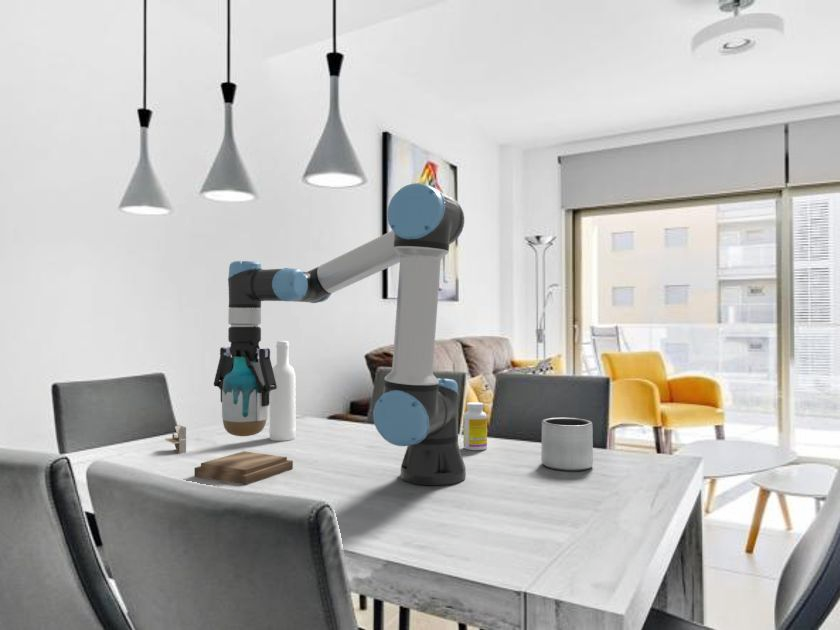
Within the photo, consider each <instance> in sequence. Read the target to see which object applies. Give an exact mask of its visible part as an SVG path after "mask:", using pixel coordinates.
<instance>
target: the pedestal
mask: <svg viewBox="0 0 840 630" xmlns="http://www.w3.org/2000/svg"><path fill="white" fill-rule="evenodd" d="M293 461H294V460H289V459H288V457H287V456H281V455H273V454H267V453H259V452H252V451H245V450H244V451H241V452H236V453H233V454H230V455H226V456H223V457H218V458H215V459H211V460H207V461H204V462H201V463H200V466H197V467H194V477H196V478H203V479H209V480H214V481H219V482H220V481H221V482H226V483H233V484H237V485H243V486H248V485H250V484H254V483H256V482H259V481H262V480H265V479H268V478H271V477H273V476H276V475H279V474H282V473H285V472H287V471H291V470H293V469H294V467H293V465H294V462H293Z"/></svg>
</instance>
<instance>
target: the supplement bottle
mask: <svg viewBox="0 0 840 630" xmlns="http://www.w3.org/2000/svg"><path fill="white" fill-rule="evenodd" d="M466 409H467V411H465V412H464V413H463V417H462V419H463V448H464V449H465V450H467V451H473V452H474V451H477V452H478V451H484V450H486V449H487V448H488V423H487V422H488V419H487V418H488V415H487V413H486V412H485V411H484V410H483V409H484V403H483V402H477V401H476V402H475V401H473V402H472V401H471V402H466Z"/></svg>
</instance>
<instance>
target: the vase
mask: <svg viewBox="0 0 840 630" xmlns="http://www.w3.org/2000/svg"><path fill="white" fill-rule="evenodd" d="M252 363H256V360H255V361H252ZM259 391H260V390H259V388H258V386H257V383H256V379H255V377H254V375H253V374H252V372H251V370H250V368H248V367H247V365H246V360H245V358H244V357H236V356H235V357H234V363H233V369H232V371H231V372H230V373H228V374H226V376H225V378H224V381H223V388H222V402H221V419H222V423H223V427H224V430H225V431H226V432H227V433H228V434H230V435H231V436H236V437H251V436H254V435H257V434H259V433H261V432H262V431H263V430H264V428H265V427H266V423H267V421H268V418H267V419H266V420H261V421H257V393H258V392H259ZM268 407H269V406H267V411H268Z"/></svg>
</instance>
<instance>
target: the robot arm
mask: <svg viewBox="0 0 840 630" xmlns="http://www.w3.org/2000/svg"><path fill="white" fill-rule="evenodd" d="M386 213H387V214H386V216H387V218H386V219H387V223H388V225H389V227H390V229H391V231H389V232H387V233H384V234H382V235H380V236H378V237H376V238H374V239H371V241H368V242H366V243H364V244H362V245H360V246H358V247H355V248H354V249H351V250H349V251H348V252H344V253H343V254H341V255H339V256H337V257H335V258H333V259H331V260H329V261H327V262H325V263H323V264H320V265H319V266H317V267H315V268H313V269H310V270H308V271H303V270H301V269H299V268H292V267H291V268H290V267H284V268H271V269H270V268H269V269H262V264H261V262H259V261H250V260H235V261H232V262H231V263H230V264H229V266H228V267H229V268H228V278H227V282H228V285H227V286H228V319H227V320H228V322H227V323H228V325H230V326H229V328H228V330H227V331H228V336H227V337H228V339H227V341H228V342H229V343H230V346H223V347H220V349H219V361H218V364H217V368H216V373H215V377H214V382H213V386H214V387H218V389H219V390H220V403H222V388H223V381H224V378H225V376H226V374H228V373H230V372H231V371H232V369H233V363H234V357H235V356H236V357H244V358H245V360H246V365H247V367H248V368H250V370H251V372H252V374H253V375H254V377H255V379H256V383H257V386H258V388H259V390H260V391H259V392H258V393H257V421H261V420H266V419H267V420H268V410H267V406H268V407H270V391H272V390H274V389H276V388H277V385H276V381H275V377H274V373H273V369H272V368H273V365H272V362H271V361H272V360H271V349H270V348H268V347H267V348H260V345H259V344H260V342H261V341H262V328H261V327H260V326H259V325H261V322H262V318H261V317H262V302H295V303H296V302H298V303H299V302H301V303H311V304H317V303H323V302H326V301H327V300H328V299H329V298H330V297H331V295H332V294H333V293H336V292H337V291H339V290H342V289H345V288H346V287H349V286H351V285H354V284H355V283H357V282H360V281H362V280H364V279H366V278H369V277H370V276H373V275H375V274H377V273H379V272H382V271H384V270H386V269H387V268H388V269H389V268H391V267H393V266H394V265H397V264H399V269H398V270H399V271H398V283H397V299H396V310H395V311H396V313H395V324H394V325H395V326H394V339H393V341H394V342H393V350H392V351H393V354H392V366H391V368H392V369H391V371H390V372H389V373H388V374H387V375H386V376H384V379H383V380H384V381H383V392H382V393H383V394H381V395H380V397H379V398H378V399H377V400H376V402H375V404H374V406H373V407H374V408H373V411H372V414H373V415H372V417H373V418H372V419H373V423H374V426H375V429H376V430H377V432H378V434H380V436H381V437H382V438H383V439H384V440H385V441H386V442H388V443H389V444H391V445H394V446H397V447H406V449H405V452H404V456H403V458H402V462H401V465H400V478H401V479H402V480H403V481H404V482H406V483H410V484H415V485H422V486H446V485H453V484H457V483H460V482H463V481H464V480H465V479H466V473H467V470H466V464H465V462H464V459H463V456H462V453H461V452H462V451H461V449H460V445H459V396H460V394H459V389H458V387H459V385H458V382H457V381H456V380H455V379H452V378H451V379H450V378H437V377H436V376H435V374H434V372H433V371H434V360H435V359H434V356H435V342H436V329H437V315H438V304H439V303H438V301H439V287H440V274H441V263H442V259H444V257H445V256H446V255H448V254H449V249H450V245H451V244H453V243H454V242H455V241H457V239H458V238H459V237H460V235H461V233H462V232H463V231H464V230H463V229H464V226H465V214H464V211H463V208H462V207H461V204H460V203H459V202H458V201H457V200H456V199H455V198H453V197H452V196H450V195H448V194H446V193H444V192H442V191H440V190H439V189H438V188H437V187H436V186H433V185H431V184H430V185H429V184H425V183H421V182H417V183H414V182H413V183H410V184H406V185H405V186H403V187H400V189H399V190H398V191H397V192H395V193H394V195H393V196H392V198H391V199H390V201H389V203H388V206H387V211H386ZM255 360H256V363H252V361H255ZM267 420H266V421H267Z"/></svg>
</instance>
